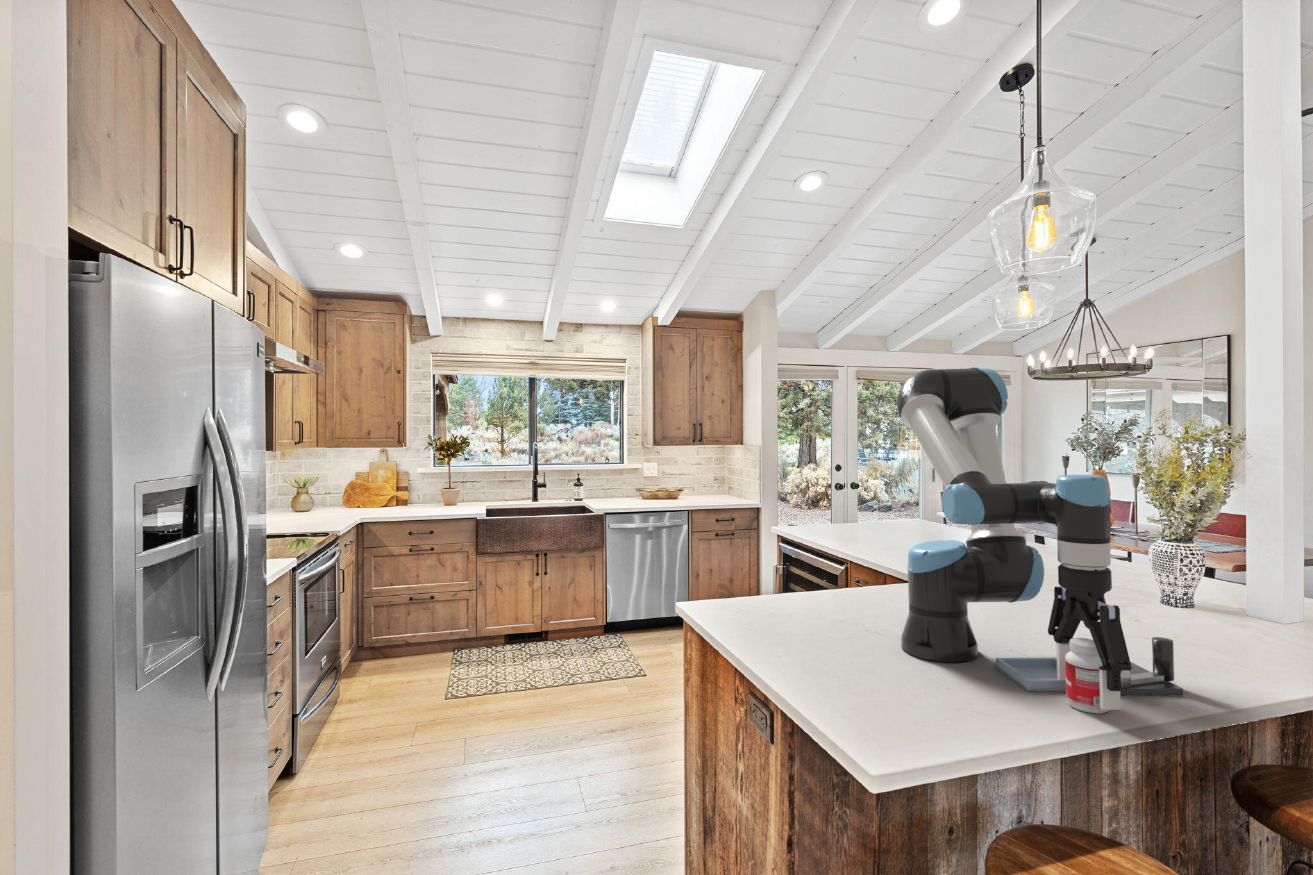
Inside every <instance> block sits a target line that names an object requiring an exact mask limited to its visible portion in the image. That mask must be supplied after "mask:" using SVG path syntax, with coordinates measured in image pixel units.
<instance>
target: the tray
mask: <svg viewBox="0 0 1313 875" xmlns="http://www.w3.org/2000/svg"><path fill="white" fill-rule="evenodd" d="M995 667H996V669H997V670H999V671H1000V672H1001V673H1002V674H1004V676H1006V677H1007V678H1009V679H1010V680H1011V681H1013V682H1014V683H1016V684H1017V686H1020V688H1022V689H1023V690H1024V691H1026V692H1028V693H1029V692H1031V693H1032V692H1033V693H1035V692H1039V693H1040V692H1044V693H1045V692H1046V693H1047V692H1048V693H1049V692H1052V693H1053V692H1065V693H1066V681H1060V680H1058V679H1057V657H996V658H995Z"/></svg>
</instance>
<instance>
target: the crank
mask: <svg viewBox="0 0 1313 875" xmlns="http://www.w3.org/2000/svg"><path fill="white" fill-rule="evenodd" d="M1151 642H1152V643H1151V646H1152V647H1151V648H1152V655H1151V656H1152V671H1150V672H1147V673H1139V674H1131V670H1130V671H1121V688H1128V687H1131V685H1134V684H1142V683H1150V682H1158V681H1169V682H1173V681H1175V661H1174V660H1175V659H1174V654H1175V653H1174V641H1173V639H1170V638H1167V637H1159V636H1153V637H1151Z"/></svg>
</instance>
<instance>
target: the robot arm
mask: <svg viewBox="0 0 1313 875" xmlns="http://www.w3.org/2000/svg"><path fill="white" fill-rule="evenodd" d="M1007 389H1008V388H1007V385H1006V383H1005V381H1004V379H1003V378H1002V376H1001V374H999V372H997V371H995V370H993V369H990V368H982V367H981V368H979V367H969V368H947V369H945V368H944V369H934V368H931V369H925V370H921V371H918V372H916V373H915V374H913V375H912V376H910V377H909V378H908V379H907V380H906V381H904V383H903V384H902V386H901V387H900V389H899V392H898V393H897V394H898V395H897V398H896V399H897V400H896V409H897V414H898V416H899V418H900V419H901V422H902V423H903V424H904V426H906V428H908V429H911V430H912V431H913V433H914V435H915V437H916V439H917V441H918V442H919V444H920V445H921V447H922V449H923V451H924V452H925V454H926V455H927V458H928V459H929V461H930V463H931V464H932V466H933V468H934V470H935V472H936V474H937V475H938V477H939V479H940V480H941V482H942V484H943V485H944V487H945V488H944V489H943V492H942V494H941V506H942V509H943V515H944V516H945V518H946V519H947V520H948V522H950V523H952V524H954V525H970V529H971V533H970V535H969V536H968V538H967V539H966V540H965V543H964V542H963V541H960V540H953V539H952V540H951V539H948V540H942V539H939V540H931V541H924V542H921V543H918V544H915V545H913V546H911V548H910V549H909V550H908V554H907V565H906V570H907V579H908V580H907V583H908V587H907V588H908V615H907V619H906V621H905V624H904V626H903V627H904V628H903V630H902V633H901V640H900V641H901V642H900V643H901V645H900V646H901V649H902V650H903V651H904V652H906V653H907V654H909V655H911V656H913V657H916V658H919V659H924V660H927V661H931V662H932V661H933V662H940V663H963V662H964V663H965V662H970V661H972V660H973V661H974V660H975V659H976V658H978V655H979V649H978V647H979V646H978V642H977V639H976V636H975V634H974V631H973V628H972V625H971V622H970V620H969V614H968V613H969V611H968V603H1017V602H1027V601H1030V600H1033V599H1034V598H1035V597H1037V596H1038V594H1039V593H1040V592H1041V588H1042V587H1043V584H1044V579H1045V564H1044V561H1043V557H1042V555H1041V554H1040V552H1039V551H1038V549H1037V548H1035V547H1034V546H1031V545H1027V541H1026V536H1025V535H1024V534H1022V533H1020V532H1019V531H1018V530H1017V529H1016V525H1015V524H1050V525H1055V526H1056V528H1057V530H1056V532H1057V533H1056V535H1057V537H1056V538H1057V540H1056V541H1057V544H1056V545H1057V561H1058V562H1059V563H1060V564H1059V565H1057V577H1058V580H1057V582H1058V585H1059V586H1054V587H1053V588H1054V589H1053V590H1054V591H1053V593H1054V594H1053V596H1054V598H1053V604H1052V606H1051V607H1052V608H1051V613H1050V617H1049V622H1048V623H1049V624H1048V627H1047V628H1048V629H1047V633H1048V635H1049V636H1053V640H1054V642H1055V644H1056V658H1057V679H1058V680H1060V681H1066V670H1065V656H1066V654H1067V653H1068V652H1070V651H1072V650H1071V649H1070V643H1068V642H1070V639H1072V638H1074V635H1075V634H1076V632H1077V629H1078V628H1079V625H1080V623H1081V622H1083V626H1085V628H1087V629H1088V630H1089V633H1090V635H1091V639H1092V640H1093V641H1094V643H1095V646H1096V649H1097V651H1098V654H1099V657H1100V659H1101V662H1102V666H1100V667H1099V680H1100V708H1102V709H1103V710H1122V708H1121V706H1122V704H1121V696H1120V690H1121V671H1130V670H1131V669H1132V667H1131V663H1130V662H1131V659H1130V655H1129V650H1128V647H1127V644H1126V639H1125V638H1126V637H1125V634H1124V631H1123V630H1124V629H1123V626H1122V624H1121V622H1122V621H1121V610H1120V609H1121V608H1120V607H1119V605H1114V604H1113V605H1112V604H1111V605H1109V604H1107V602H1106V598H1105V594H1106V593H1108V592H1111V591H1112V588H1113V587H1112V586H1113V584H1112V580H1113V579H1112V578H1113V577H1112V570H1111V569H1110V568H1109V566H1111V565H1112V562H1111V561H1112V560H1111V557H1112V556H1111V555H1112V554H1111V550H1112V547H1111V502H1112V499H1111V496H1110V490H1109V481H1108V479H1107V478H1106V477H1105V476H1102V475H1097V474H1096V475H1095V474H1062V475H1058V477H1057V478H1056V481H1055V482H1056V483H1054V482H1048V481H1045V480H1039V481H1038V480H1033V481H1031V480H1030V481H1026V482H1020V483H1019V482H1016V483H1013V482H1011V483H1007V480H1006V476H1005V470H1004V467H1003V461H1002V456H1001V450H1000V446H999V441H998V440H999V439H998V436H997V431H996V426H997V425H998V424H999V423H1000V422H1001V420H1002V417H1001V415H1003V414H1004V413H1005V412H1006V410H1007V407H1008V402H1007V400H1008V399H1009V398H1008V395H1009V394H1008V390H1007Z"/></svg>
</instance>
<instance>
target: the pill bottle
mask: <svg viewBox="0 0 1313 875" xmlns="http://www.w3.org/2000/svg"><path fill="white" fill-rule="evenodd" d="M1070 649H1071V650H1072V651H1070V652H1068V653H1067V654H1066V656H1065V670H1066V692H1065V694H1066V695H1065V699H1066V700H1065V701H1066V702H1067V704H1068V705H1069V706H1070V707H1071V708H1074V709H1076V710H1078V711H1081V712H1085V713H1090V714H1106V713H1108V712H1109V710H1103V709H1102V708H1100V680H1099V667H1100V666H1102V662H1101V659H1100V657H1099V654H1098V651H1097V649H1096V646H1095V643H1094V641H1093V638H1091V639H1090V638H1086V637H1073V638H1072V639H1070Z"/></svg>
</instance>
